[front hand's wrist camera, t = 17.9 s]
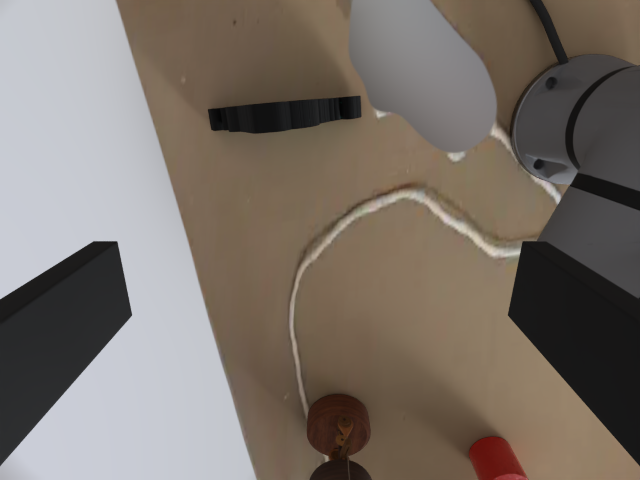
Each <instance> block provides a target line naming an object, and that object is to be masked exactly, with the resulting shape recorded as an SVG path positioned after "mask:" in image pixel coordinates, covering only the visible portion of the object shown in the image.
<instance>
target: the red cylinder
mask: <svg viewBox="0 0 640 480" xmlns="http://www.w3.org/2000/svg"><path fill="white" fill-rule="evenodd" d="M469 457H470V460H471V462H472V465H473V467H474V470H475V472H476V474H477V477H478V479H479V480H528V478H527V476H526V474H525V472H524V470H523V469H522V467H521V465H520V463H519V461H518V459H517V458H516V456H515V454H514V452H513V450H512V448H511V447H510V445H509V443H508V442H507V441H506V440H504V439H502V438H499V437H486V438H483V439H480V440H479V441H477V442H476V443H474V444H473V446H472V447H471V449H470V451H469Z"/></svg>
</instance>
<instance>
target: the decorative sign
mask: <svg viewBox="0 0 640 480" xmlns="http://www.w3.org/2000/svg"><path fill="white" fill-rule="evenodd" d="M208 113H209V119H210V124H211V130H213V131H218V130H229V132H247V133H254V134H256V133H268V132H279V131H286V130H290V129H298V128H306V127H312V126H317V125H319V124H320V123H324V122H329V121H335V120H340V119H354V118H359V117H361V100H360V96H351V97H341V98H328V99H311V100H299V101H287V102H274V103H263V104H252V105H243V106H235V107H225V108H217V109H208Z"/></svg>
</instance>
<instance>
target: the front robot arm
mask: <svg viewBox="0 0 640 480" xmlns="http://www.w3.org/2000/svg"><path fill="white" fill-rule="evenodd" d="M530 2H531V3H532V5H533V7H534V8H535V10H536V12H537V14H538V15H539V17H540V19H541V21H542V24H543V26H544V28H545V31H546V33H547V36H548V38H549V41H550V43H551V45H552V48H553V50H554V52H555V55H556V57H557V59H558V62H557V63H555V64H553V65H551V66H550V67H548V68H547V69H545V70H544V71H543V72H541V73H540V74H539V75H538V76H537V77H536V78H535V79H534V80H533V81H532V82H531V83H530V84H529V85H528V86H527V88H526V89H525V90H524V92H523V93H522V95H521V97H520V99H519V100H518V103H517V105H516V107H515V110H514V113H513V116H512V121H511V128H510V138H511V145H512V149H513V152H514V154H515V156H516V158H517V160H518V162H519V163H520V164H521V166H522V167H523V168H524V169H525V170H526V171H527V172H529V173H530V174H532V175H533V176H535V177H537V178H539V179H542V180H545V181H548V182H552V183H558V184H570V186H569V187H568V189H567V190H566V192H565V194H564V195H563V197H562V199H561V201H560V202H559V204H558V206H557V207H556V209H555V211H554V212H553V214H552V216H551V218H550V219H549V221H548V223H547V224H546V226H545V228H544V229H543V231H542V233H541V234H540V236H539V238H538V240H537V241H523V243H522V248H521V253H520V258H519V262H518V267H517V272H516V277H515V282H514V287H513V292H512V297H511V302H510V307H509V312H508V316H509V317H510V318H511V319H512V321H513V322H514V323H515V324H516V325H517V326H518V327H519V329H520V330H521V331H522V332H523V333H524V334H525V335H526V337H527V338H528V339H529V340H530V341H531V342H532V343H533V345H534V346H535V347H536V348H537V349H538V350H539V351H540V353H541V354H542V355H543V356H544V357H545V358H546V359H547V361H548V362H549V363H550V364H551V365H552V366H553V367H554V369H555V370H556V371H557V372H558V373H559V374H560V375H561V377H562V378H563V379H564V380H565V381H566V382H567V383H568V385H569V386H570V387H571V388H572V389H573V390H574V391H575V393H576V394H577V395H578V396H579V397H580V398H581V399H582V401H583V402H584V403H585V404H586V405H587V406H588V407H589V409H590V410H591V411H592V412H593V413H594V414H595V415H596V417H597V418H598V419H599V420H600V421H601V422H602V423H603V425H604V426H605V427H606V428H607V429H608V430H609V431H610V432H611V434H612V435H613V436H614V437H615V438H616V439H617V440H618V442H619V443H620V444H621V445H622V446H623V447H624V448H625V450H626V451H627V452H628V453H629V454H630V455H631V456H632V458H633V459H634V460H635V461H636V462H637V463H638V464H639V466H640V65H638V66H637V65H634V64H632V63H629V62H627V61H624V60H622V59H619V58H616V57H613V56H609V55H599V54H588V55H581V56H575V57H570V58H567V56H566V54H565V51H564V49H563V47H562V44H561V42H560V39H559V37H558V35H557V32H556V30H555V27H554V25H553V22H552V20H551V18H550V16H549V14H548V12H547V10H546V8H545V6H544V4H543V2H542V1H541V0H530ZM131 316H132V312H131V307H130V303H129V297H128V292H127V288H126V282H125V277H124V273H123V267H122V263H121V258H120V253H119V248H118V243H117V241H94V242H92V243H90V244H89V245H87V246H85V247H84V248H82V249H81V250H79V251H77V252H76V253H74V254H73V255H71V256H69V257H68V258H66V259H64V260H63V261H61V262H60V263H58V264H56V265H55V266H53V267H52V268H50V269H48V270H47V271H45V272H44V273H42V274H40V275H39V276H37V277H36V278H34V279H32V280H31V281H29V282H27V283H26V284H24V285H23V286H21V287H20V288H18V289H16V290H15V291H13V292H11V293H10V294H8V295H7V296H5V297H3V298H2V299H0V466H1V464H2V463H3V462H4V461H5V460H6V459H7V458H8V456H9V455H10V454H11V453H12V452H13V451H14V450H15V448H16V447H17V446H18V445H19V444H20V443H21V442H22V440H23V439H24V438H25V437H26V436H27V435H28V434H29V432H30V431H31V430H32V429H33V428H34V427H35V426H36V424H37V423H38V422H39V421H40V420H41V419H42V418H43V416H44V415H45V414H46V413H47V412H48V411H49V410H50V408H51V407H52V406H53V405H54V404H55V403H56V402H57V401H58V399H59V398H60V397H61V396H62V395H63V394H64V392H65V391H66V390H67V389H68V388H69V387H70V386H71V384H72V383H73V382H74V381H75V380H76V379H77V378H78V377H79V375H80V374H81V373H82V372H83V371H84V370H85V369H86V367H87V366H88V365H89V364H90V363H91V362H92V361H93V359H94V358H95V357H96V356H97V355H98V354H99V353H100V351H101V350H102V349H103V348H104V347H105V346H106V345H107V343H108V342H109V341H110V340H111V339H112V338H113V337H114V335H115V334H116V333H117V332H118V331H119V330H120V329H121V327H122V326H123V325H124V324H125V323H126V322H127V321H128V319H129V318H130V317H131Z"/></svg>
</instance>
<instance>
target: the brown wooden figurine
mask: <svg viewBox="0 0 640 480" xmlns="http://www.w3.org/2000/svg"><path fill="white" fill-rule="evenodd" d="M307 437H308V440H309V442H310V444H311V445H312V446H313V447H314V448H315V449H316V450H317V451H319V452H320V453H322V454H325V455H327V456H329V459H330V461H328V462H325V463H323V464H322V465H320V466H319V467H318V468H317V469H316V470H315V471H314V472H313V474H312V475H311V477H310V480H372V479H371V477H370V475H369V474H368V472H367V471H366V470H365V469H364V468H363V467H362V466H361V465H359V464H357V463H356V462H353V461H350V460H349V457H348V456H350V455H353V454H355V453H356V452H358V451H360V450H361V449H362V448H363V447H364V446H365V445H366V444H367V443H368V441H369V438H370V424H369V417H368V412H367V410H366V408H365V406H364V405H363V404H362V403H361V402H360V401H358V400H357V399H355V398H353V397H351V396H347V395H340V394H337V395H329V396H326V397H323V398H321V399H319V400H318V401H317V402H315V403H314V404H313V405H312V407H311V408H310V410H309V413H308V420H307Z"/></svg>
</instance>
